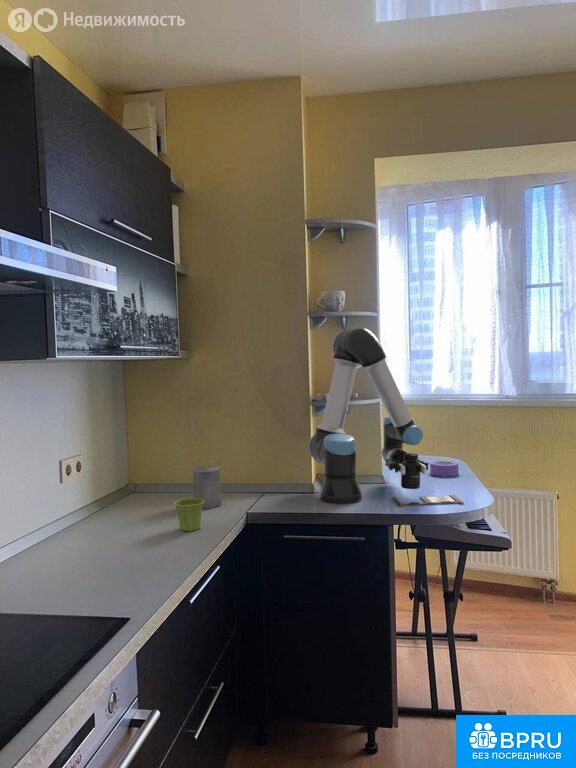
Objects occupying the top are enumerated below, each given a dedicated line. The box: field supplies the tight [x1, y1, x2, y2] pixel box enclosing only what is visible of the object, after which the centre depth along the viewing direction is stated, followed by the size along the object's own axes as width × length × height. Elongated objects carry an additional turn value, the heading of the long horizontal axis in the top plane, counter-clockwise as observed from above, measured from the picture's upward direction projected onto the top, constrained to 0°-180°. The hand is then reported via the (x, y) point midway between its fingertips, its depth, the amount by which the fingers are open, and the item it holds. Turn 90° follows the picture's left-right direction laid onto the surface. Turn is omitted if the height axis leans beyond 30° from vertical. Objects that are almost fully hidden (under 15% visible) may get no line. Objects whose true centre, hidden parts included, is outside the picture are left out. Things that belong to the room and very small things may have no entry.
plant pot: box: [173, 498, 204, 532], centre depth 183 cm, size 9×9×9 cm
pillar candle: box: [192, 464, 222, 510], centre depth 211 cm, size 10×10×15 cm
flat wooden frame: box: [391, 494, 465, 508], centre depth 207 cm, size 23×11×1 cm, turn 93°
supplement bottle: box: [400, 452, 421, 490], centre depth 208 cm, size 7×7×12 cm
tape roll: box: [429, 460, 459, 477], centre depth 252 cm, size 12×12×5 cm
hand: (414, 470), depth 203 cm, fingers closed on supplement bottle, 7 cm apart
